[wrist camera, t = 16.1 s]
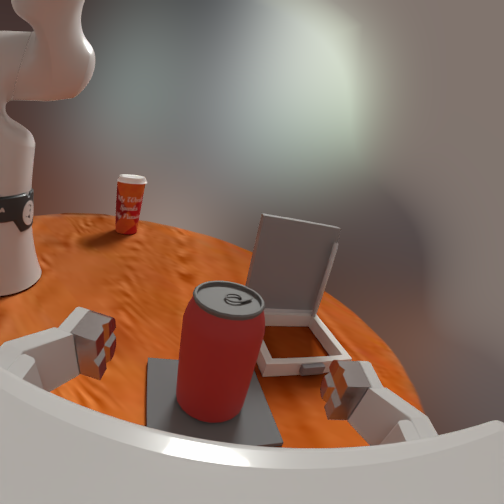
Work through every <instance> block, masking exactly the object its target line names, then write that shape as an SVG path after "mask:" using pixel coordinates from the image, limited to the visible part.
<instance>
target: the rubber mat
mask: <svg viewBox="0 0 504 504" xmlns="http://www.w3.org/2000/svg"><path fill="white" fill-rule="evenodd" d="M178 363H179V360H171V359H158V358H148V374H147V427H149V428H153V429H157V430H161V431H166V432H170V433H175V434H179V435H184V436H189V437H194V438H200V439H206V440H212V441H219V442H226V443H233V444H242V445H252V446H263V447H275V446H282V444H283V440H282V438H281V435H280V433H279V430H278V428H277V426H276V423H275V421H274V418H273V416H272V413H271V411H270V409H269V406H268V404H267V401H266V399H265V396H264V394H263V391H262V389H261V386H260V384H259V381H258V378H257V376H256V373H255V371H254V372H253V375H252V378H251V382H250V385H249V388H248V391H247V395H246V398H245V401H244V404H243V407H242V409H241V411H240V412H239V414H237V415H236V416H235V417H233V418H232V419H230V420H227V421H224V422H218V423H209V422H204V421H199V420H197V419H195V418H193V417H191V416H189V415H188V414H187V413H186V412H185V411H184V410H182V408H181V406H180V405H179V403H178V401H177V397H176V386H177V374H178Z"/></svg>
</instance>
